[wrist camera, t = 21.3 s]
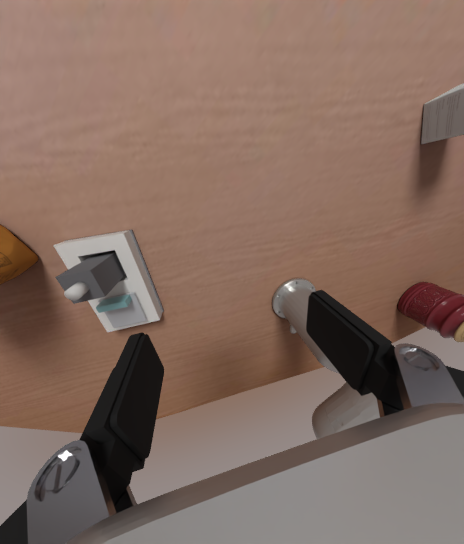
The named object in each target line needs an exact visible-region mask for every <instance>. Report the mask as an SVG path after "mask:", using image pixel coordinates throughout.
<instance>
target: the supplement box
mask: <svg viewBox="0 0 464 544" xmlns="http://www.w3.org/2000/svg"><path fill="white" fill-rule="evenodd" d="M460 135H464V83H463V84H461V85H459V86H457V87H455V88H453V89H451V90H449V91H448V92H446V93H444V94H442V95H440V96H438V97H436V98H434V99H433V100H431V101H429V102H427V103H425V104H424V112H423V126H422V140H421V144H425V143H430V142H434V141H438V140H443V139H447V138H451V137H456V136H460Z"/></svg>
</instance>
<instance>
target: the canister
mask: <svg viewBox="0 0 464 544" xmlns="http://www.w3.org/2000/svg"><path fill="white" fill-rule="evenodd" d="M398 310H399V311H400V312H401V313H402V314H404V315H405V316H407V317H410V318H412V319H413V320H415V321H417V322H419V323H420V324H422V325H424V326H426V327H427V328H428V329H430V330H435V331H437V332H439V333H440V335H441V336H442V337H444V338H454V340H455V341H457V342H464V295H462V294H458V293H455V292H452V291H450V290H447V289H444V288H442V287H439V286H438V285H435V284H433V283H428V282H420V283H418V284H415V285H414V286H412V287H411V288H409V289H408V290H407V291H406V292H405V293H404V294H403V295H402V297H401V298H400V300H399V303H398Z"/></svg>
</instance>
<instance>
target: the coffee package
mask: <svg viewBox="0 0 464 544" xmlns="http://www.w3.org/2000/svg"><path fill="white" fill-rule="evenodd" d="M37 261H38V257H37V255H36V254H35V253H34V252H32V251H31V250H30V249H29V248H28V247H27V246H26V245H25V244H24V243H22V242H21V241H20V240H18V239H17V238H16V237H15V236H14V235H13V234H12V233H11V232H10V231H9V230H8V229H6V228H5V227H3V226H2V225H0V284H2V283H4V282H6V281H9V280H11V279H13V278H15V277H16V276H18V275H20V274H21V273H23V272H24V271H26V270H27V269H28V268H29V267H31V266H32V265H33V264H34V263H36V262H37Z"/></svg>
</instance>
